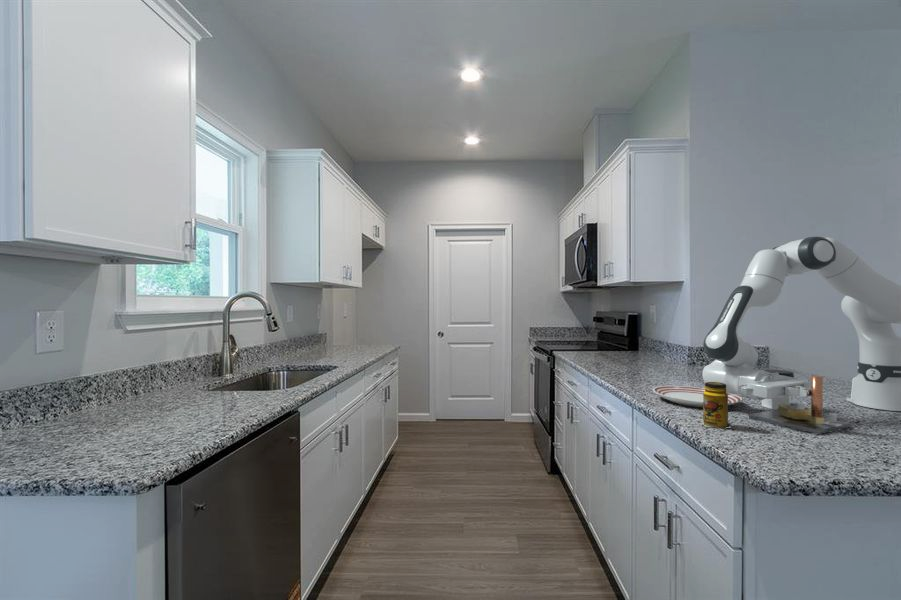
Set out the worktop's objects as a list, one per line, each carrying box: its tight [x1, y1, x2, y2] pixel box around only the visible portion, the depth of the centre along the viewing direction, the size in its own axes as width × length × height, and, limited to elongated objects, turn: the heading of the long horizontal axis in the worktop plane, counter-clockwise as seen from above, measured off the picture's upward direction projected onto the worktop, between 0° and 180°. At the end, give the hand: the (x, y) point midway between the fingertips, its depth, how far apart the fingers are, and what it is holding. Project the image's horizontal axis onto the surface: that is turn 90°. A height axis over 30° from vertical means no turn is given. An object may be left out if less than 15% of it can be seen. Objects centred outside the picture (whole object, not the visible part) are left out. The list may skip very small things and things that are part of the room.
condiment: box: [700, 382, 733, 430], centre depth 128 cm, size 7×8×12 cm
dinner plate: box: [652, 385, 743, 408], centre depth 157 cm, size 27×27×3 cm
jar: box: [761, 369, 796, 410], centre depth 148 cm, size 9×8×12 cm
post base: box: [748, 402, 852, 435], centre depth 130 cm, size 17×18×5 cm
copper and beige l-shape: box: [778, 375, 825, 424], centre depth 129 cm, size 14×7×13 cm, turn 173°
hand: (809, 393), depth 124 cm, fingers closed
